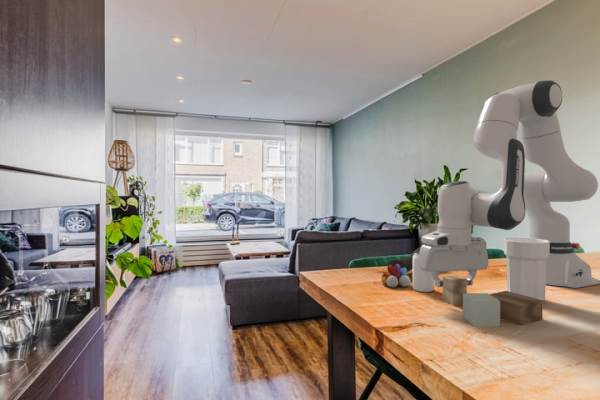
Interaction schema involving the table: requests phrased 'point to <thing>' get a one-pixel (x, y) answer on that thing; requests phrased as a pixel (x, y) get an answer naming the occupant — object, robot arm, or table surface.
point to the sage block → (481, 309)
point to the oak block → (454, 289)
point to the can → (421, 277)
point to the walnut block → (518, 308)
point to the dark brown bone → (404, 262)
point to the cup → (526, 266)
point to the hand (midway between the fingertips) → (453, 285)
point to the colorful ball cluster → (395, 276)
